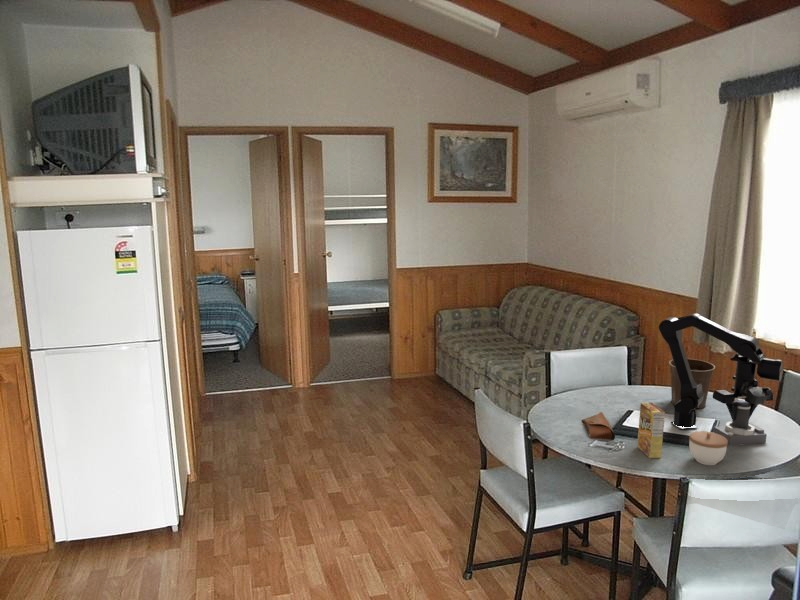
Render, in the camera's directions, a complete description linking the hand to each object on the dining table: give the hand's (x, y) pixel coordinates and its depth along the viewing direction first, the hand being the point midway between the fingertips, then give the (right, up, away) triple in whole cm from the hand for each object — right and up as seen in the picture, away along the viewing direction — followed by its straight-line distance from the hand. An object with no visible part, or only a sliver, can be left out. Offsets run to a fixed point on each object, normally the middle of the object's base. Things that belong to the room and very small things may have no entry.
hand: (740, 419), depth 214 cm
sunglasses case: (-45, -6, +10) cm, 46 cm away
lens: (0, -2, 0) cm, 2 cm away
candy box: (-34, -9, -9) cm, 36 cm away
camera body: (0, -7, +1) cm, 7 cm away
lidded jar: (-19, -10, -15) cm, 26 cm away
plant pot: (-2, -1, +34) cm, 34 cm away
